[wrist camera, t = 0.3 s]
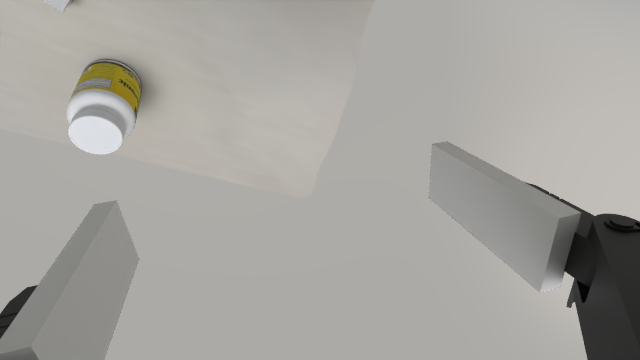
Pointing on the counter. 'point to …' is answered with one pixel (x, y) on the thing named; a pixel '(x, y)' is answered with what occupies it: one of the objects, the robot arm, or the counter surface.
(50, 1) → the wall
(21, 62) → the counter surface
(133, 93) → the supplement bottle
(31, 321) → the robot arm
